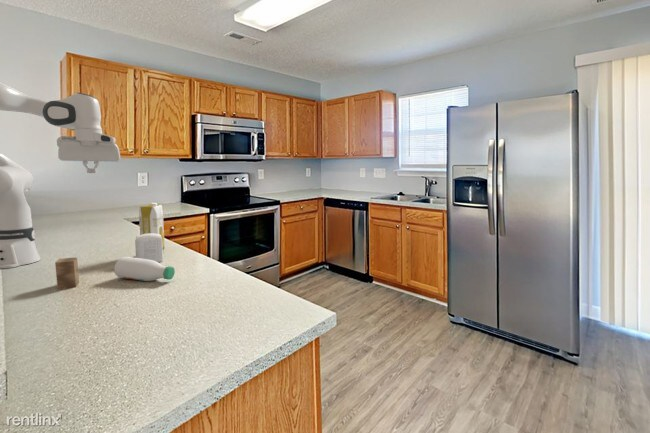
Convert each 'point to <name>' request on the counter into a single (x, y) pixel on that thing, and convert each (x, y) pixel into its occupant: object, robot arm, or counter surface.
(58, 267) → the walnut block
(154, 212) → the juice carton
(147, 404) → the counter surface
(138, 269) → the milk bottle
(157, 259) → the photo printer
